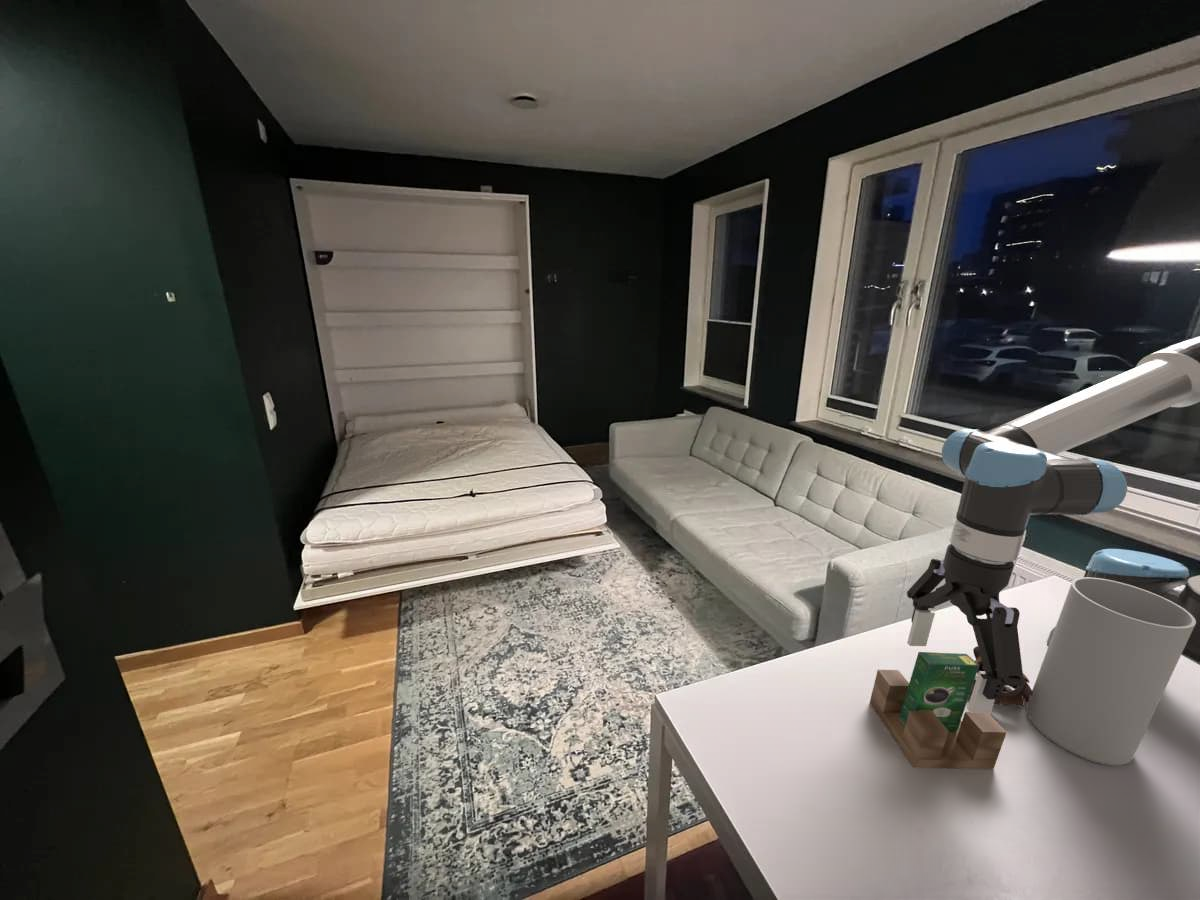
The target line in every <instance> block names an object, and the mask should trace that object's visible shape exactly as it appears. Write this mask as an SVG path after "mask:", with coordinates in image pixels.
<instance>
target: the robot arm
mask: <svg viewBox="0 0 1200 900" xmlns="http://www.w3.org/2000/svg"><path fill="white" fill-rule="evenodd" d="M1198 403H1200V335H1199V336H1196V337H1193V338H1189V339H1186V340H1183V341H1180V342H1178V343H1174V344H1172V345H1169V346H1167V347H1164V348H1161V349H1160V350H1157V351H1155V352H1153V353H1150V354H1148V355H1146V356H1144V357H1142V358H1141V360H1139V361H1138V363H1137V364H1136V365H1135V367H1134V368H1131V369H1129V370H1127V371H1124V372H1122V373H1120V374H1117V375H1115V376H1112V377H1111V378H1107V379H1106V380H1103V381H1101V382H1098V383H1097V384H1094V385H1092V386H1089V387H1088V388H1085V389H1082V390H1080V391H1078V392H1075V393H1072V394H1071V395H1069V396H1066V397H1064V398H1062V399H1060V400H1057V401H1055V402H1052V403H1050V404H1047V405H1045V406H1043V407H1040V408H1038V409H1036V410H1034V411H1032V412H1030V413H1027V414H1024V415H1022V416H1020V417H1019V416H1018V417H1017V418H1016V419H1013V420H1010V421H1008V422H1006V423H1003V424H1001V425H999V426H997V427H993V428H992V429H990V430H987V431H982V430H980V429H972V428H971V429H970V428H963V429H962V428H961V429H958V430H956V431H954V432H953V433H951V434H950V435H949V436H948V437H947V438H946V440H945V441H944V443H943V445H942V448H941V458H942V461H943V463H944V465H945V466H946V467H948V468H949V469H951V470H952V471H955V472H957V473H959V474H960V475H962V476H964V477H965V479H964V482H963V486H962V491H961V495H960V499H959V503H958V506H957V511H956V516H955V519H954V523H953V527H952V529H951V532H950V533H951V534H950V537H949V542H950V544H948V545H947V547H946V550H945V555H944V558H931V560H930V562H929V565H928V566H927V567H928V568H927V569H925V571H924V573H922V575H921V576H920V577H919V578H918V579H917V580H916V581H915V583H913V584H912V585H911V587H909V589H908V590H907V592H906V596H907V598H909V599H911V600H912V606H913V612H912V616H911V626H910V630H909V635H908V638H907V642H906V643H907V644H908V646H910V647H927V643H928V641H929V637H930V632H931V629H932V626H933V622H934V618H935V614H936V613H935V611H934V610H932V609H935V608H936V607H937V606H940V605H942V604H945V603H947V602H949V603H951V604H952V605H953V606H955V607H957V608H958V609H959V610H960V612H961V613H962V614H963V615H965V616H966V620H967V623H968V624H969V625H971V626H972V630H973V633H974V636H975V641H976V643H977V644H976V645H977V646H978V648H979V652H980V655H981V659H982V662H983V666H984V670H985V671H979V673H978V674H977V675H976V679H977V680H976V679H975V680H976V683H975V686H974V689H973V692H972V694H971V695H970V699H969V701H968V705H967V710H968V712H971V713H989V714H991V713H992V711H993V707H994V705H995V704H994V701H995V699H997V700H998V699H999V698H1000V697H1001V694H1002V692H1004V691H1003V690H1004V688H1005V686H1007V687H1010V686H1023V684H1024V679H1023V674H1024V673H1023V672H1024V671H1023V665H1022V655H1021V647H1020V639H1019V630H1018V624H1019V619H1020V610H1019V609H1018V608H1017V607H1008V606H1006V605H1004V604H1002V603H1001V602H1000V593H1001V592H1002V591H1003V590H1004V589H1005V588H1006V587H1007V586H1008V585H1009V582H1010V578H1011V576H1012V574H1013V569H1014V566H1015V563H1014V561H1015V560H1017V558H1018V555H1019V552H1020V548H1021V546H1022V544H1021V543H1022V541H1023V538H1024V535H1025V532H1026V528H1027V525H1028V523H1029V519H1030V517H1031V516H1042V515H1076V516H1087V515H1091V514H1100V513H1107V512H1109V511H1112V510H1115V509H1116V508H1118V507H1119V506H1120V505H1121V504H1122V503H1123V502H1124V500H1125V498H1126V496H1127V492H1128V484H1127V479H1126V477H1125V475H1124V473H1123V471H1122V470H1120V468H1118V467H1117V466H1115V465H1114V464H1113V463H1111V462H1109V461H1105V460H1102V459H1093V458H1091V459H1090V458H1088V457H1081V458H1080V457H1079V458H1077V459H1075V458H1071V457H1067V456H1063V455H1060V454H1061V453H1064V452H1066V451H1068V450H1071V449H1073V448H1075V447H1078V446H1080V445H1082V444H1085V443H1088V442H1089V441H1092V440H1095V439H1097V438H1099V437H1102V436H1103V435H1107V434H1109V433H1111V432H1114V431H1116V430H1118V429H1121V428H1123V427H1126V426H1127V425H1130V424H1133V423H1135V422H1137V421H1139V420H1142V419H1145V418H1147V417H1149V416H1152V415H1154V414H1156V413H1159V412H1161V411H1163V410H1165V409H1168V408H1170V407H1171V408H1185V407H1190V406H1192V405H1196V404H1198ZM1085 569H1086V570H1085V572H1084V574H1083V577H1092V578H1101V579H1107V580H1112V581H1116V582H1120V583H1124V584H1128V585H1131V586H1134V587H1138V588H1141V589H1143V590H1146V591H1149V592H1151V593H1154V594H1156V595H1159V596H1161V597H1163V598H1165V599H1168V600H1170V601H1172V602H1173V603H1175V604H1177V605H1179V606H1180V607H1182V608H1184V609H1185V610H1186V611H1188V612H1189V613H1190V614H1191V615H1192V616H1193V617H1194V618H1195V620H1196V624H1195V626H1194V628H1193V631H1192V633H1191V635H1190V637H1189V639H1188V641H1187V643H1186V645H1185V648H1184V650H1183V652H1182V654H1181V656H1183V657H1185V658H1187V659H1189V661H1191V662H1194V663H1195V664H1197V665H1199V666H1200V574H1199V575H1195V576H1191V577H1189V576H1190V573H1189V572H1190V570H1189V568H1188V567H1186V566H1185V565H1184V564H1183V563H1181V562H1178V561H1176V560H1173V559H1170V558H1167V557H1163V556H1160V555H1156V554H1152V553H1149V552H1144V551H1143V552H1142V551H1138V550H1137V551H1136V550H1129V549H1122V548H1105V549H1104V548H1103V549H1101V550H1097V551H1096V552H1094V554H1092V556H1091V558H1090V560H1089V562H1088V565H1086V566H1085ZM1187 578H1188V579H1187ZM943 581H945V583H944V584H943V585H941V586H939V587H937V586H938V585H939V584H940V583H941V582H943ZM984 615H986V618H980V617H982V616H984ZM978 617H979V618H978ZM1055 627H1056V625H1055V626H1054V627H1053V628H1052V629H1051V631H1050V632H1049V635H1048V638H1047V640H1046V641H1047V647H1048V646H1049V644H1050V641H1051V638H1052V635H1053V633H1054V630H1055ZM995 667H996V669H994V668H995Z"/></svg>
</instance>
